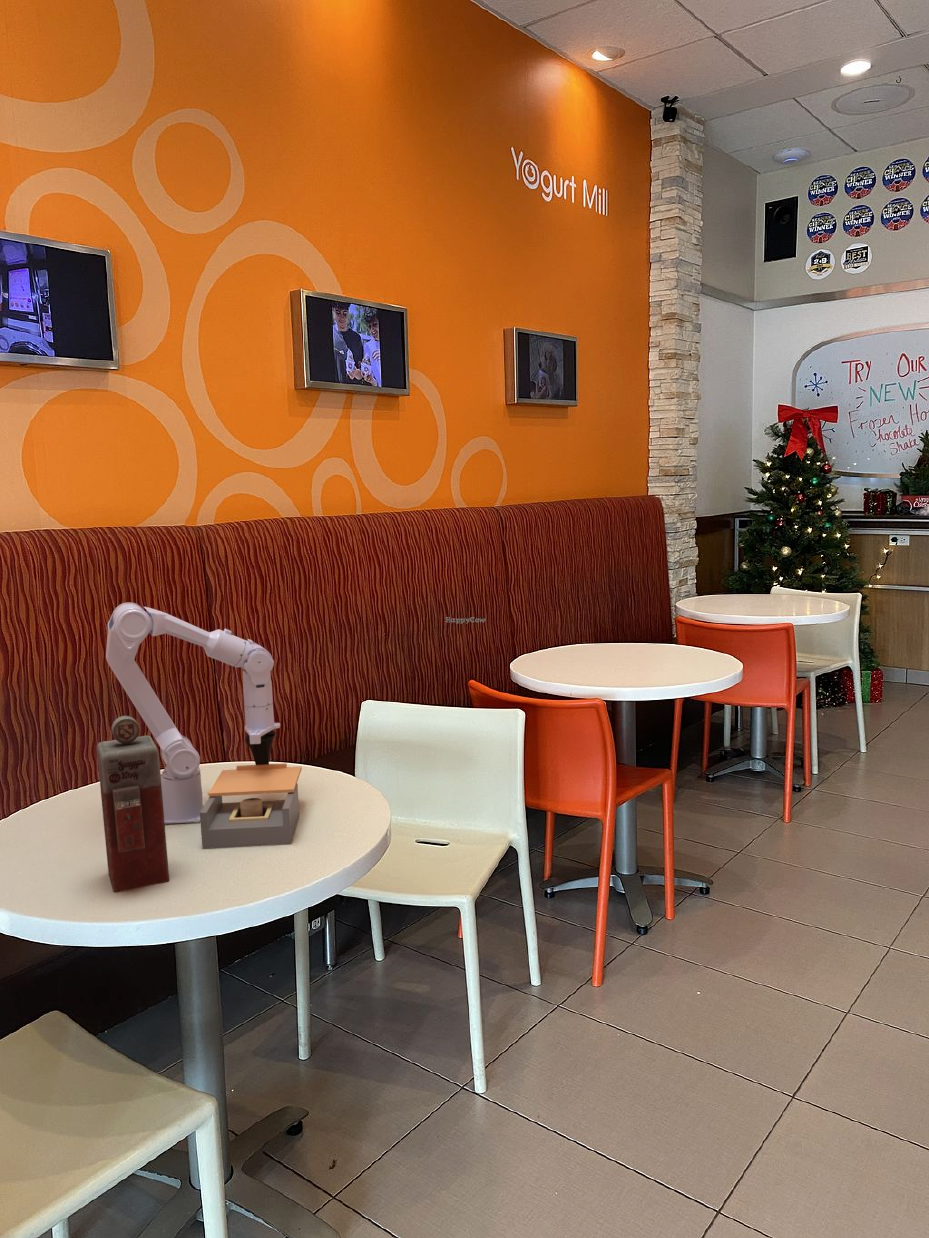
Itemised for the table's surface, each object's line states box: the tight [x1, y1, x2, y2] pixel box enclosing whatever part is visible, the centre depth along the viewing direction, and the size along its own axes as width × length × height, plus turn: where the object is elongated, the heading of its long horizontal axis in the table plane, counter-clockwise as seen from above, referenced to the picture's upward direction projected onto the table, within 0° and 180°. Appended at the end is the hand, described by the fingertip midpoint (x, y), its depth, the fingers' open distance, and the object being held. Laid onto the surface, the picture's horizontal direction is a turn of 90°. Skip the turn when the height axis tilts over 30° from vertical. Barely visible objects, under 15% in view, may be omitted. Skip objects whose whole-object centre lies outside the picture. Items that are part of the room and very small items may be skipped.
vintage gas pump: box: [96, 715, 170, 893], centre depth 156 cm, size 9×11×28 cm
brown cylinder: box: [239, 797, 263, 817], centre depth 178 cm, size 4×4×6 cm
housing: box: [199, 783, 300, 849], centre depth 178 cm, size 16×14×7 cm
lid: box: [208, 762, 302, 797], centre depth 185 cm, size 16×14×1 cm
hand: (262, 768), depth 193 cm, fingers closed
